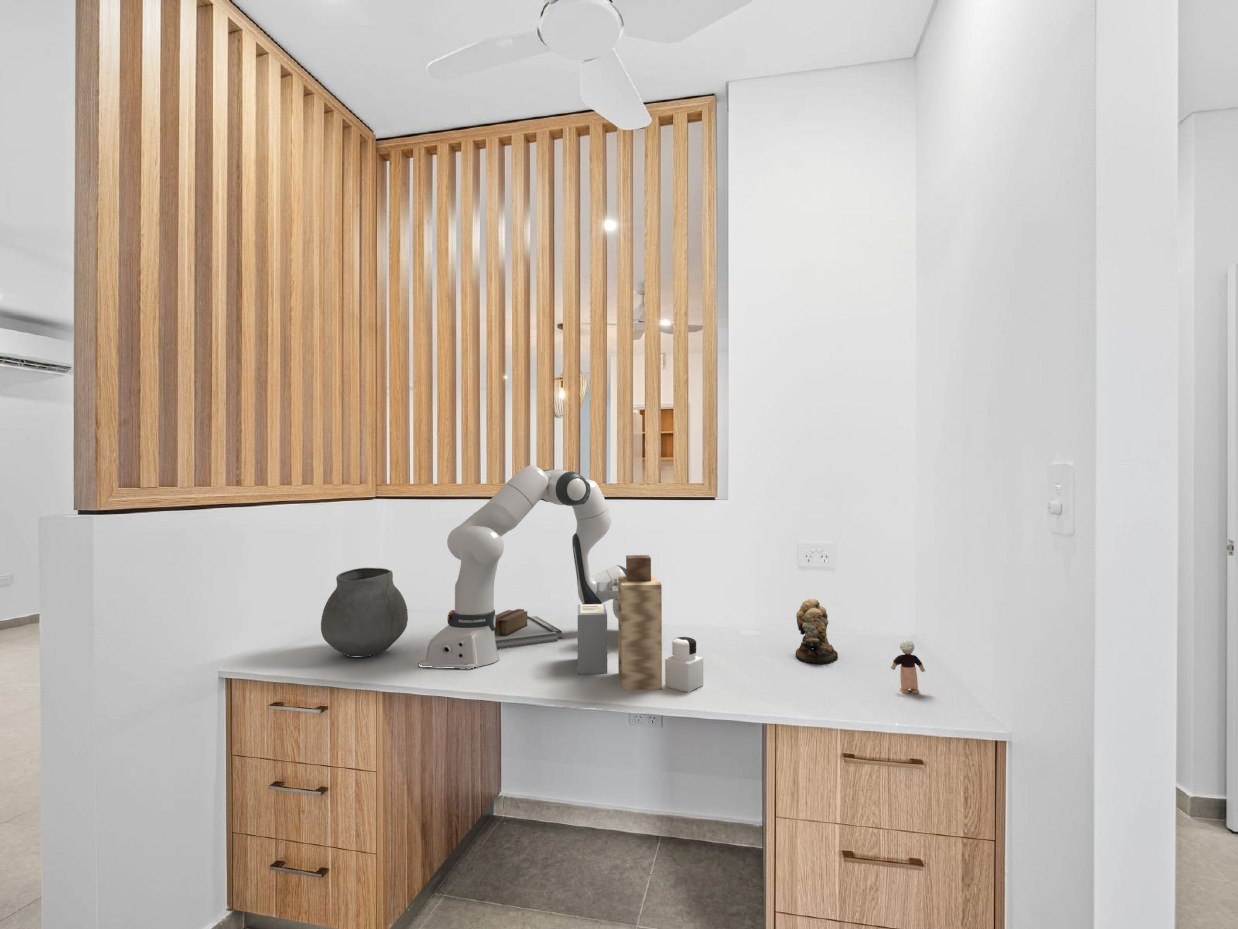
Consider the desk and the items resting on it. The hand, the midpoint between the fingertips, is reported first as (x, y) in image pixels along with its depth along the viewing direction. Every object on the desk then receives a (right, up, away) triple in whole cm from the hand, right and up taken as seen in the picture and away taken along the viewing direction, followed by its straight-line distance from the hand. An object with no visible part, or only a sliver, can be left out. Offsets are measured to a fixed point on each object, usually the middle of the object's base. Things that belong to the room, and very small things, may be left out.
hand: (630, 580), depth 191 cm
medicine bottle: (+13, -21, -31) cm, 40 cm away
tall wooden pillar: (+2, -21, -27) cm, 34 cm away
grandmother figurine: (+68, -21, -36) cm, 79 cm away
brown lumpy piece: (+55, -22, -6) cm, 59 cm away
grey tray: (-41, -23, +20) cm, 51 cm away
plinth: (-11, -21, -14) cm, 28 cm away
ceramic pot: (-80, -22, -1) cm, 83 cm away
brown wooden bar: (+1, +5, -19) cm, 20 cm away
